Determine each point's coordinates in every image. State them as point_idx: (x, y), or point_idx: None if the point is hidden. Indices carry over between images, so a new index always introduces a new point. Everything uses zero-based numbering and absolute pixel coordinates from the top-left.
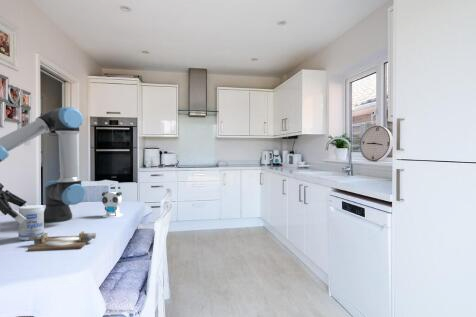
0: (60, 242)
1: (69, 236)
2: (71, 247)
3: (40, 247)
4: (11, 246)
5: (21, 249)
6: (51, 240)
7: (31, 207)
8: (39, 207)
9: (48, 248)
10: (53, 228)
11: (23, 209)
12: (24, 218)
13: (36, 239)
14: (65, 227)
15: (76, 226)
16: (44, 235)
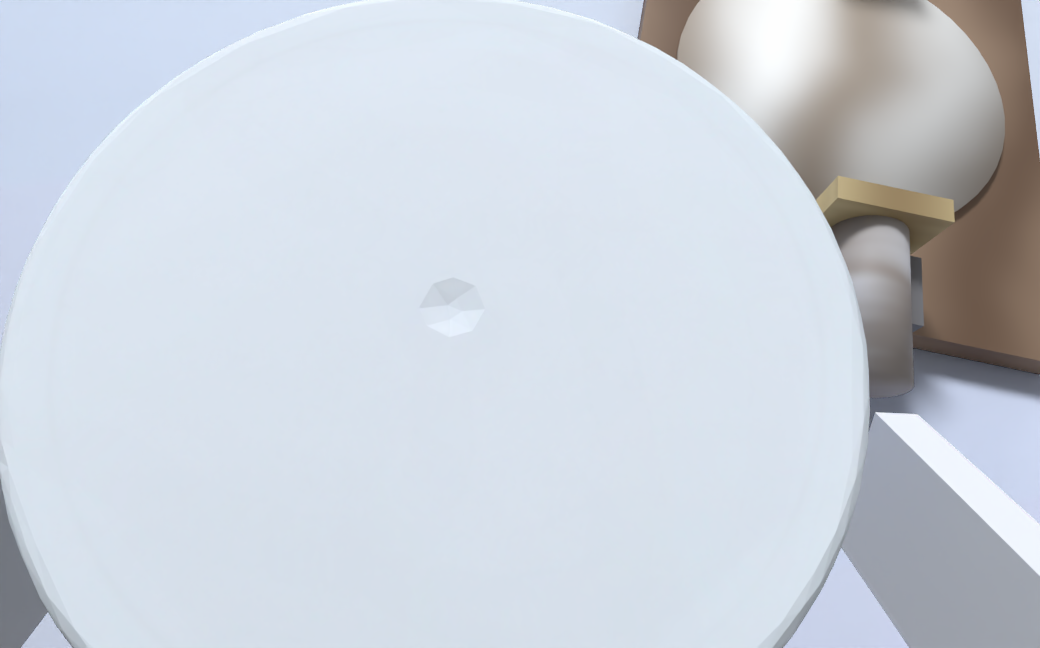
0: (900, 98)
1: (688, 46)
2: (1016, 16)
3: (1025, 251)
4: (836, 633)
5: (972, 461)
6: (811, 187)
7: (696, 254)
8: (660, 53)
9: (1035, 182)
10: (6, 311)
11: (841, 498)
12: (932, 437)
13: (921, 300)
14: (42, 169)
15: (65, 55)
16: (910, 201)
